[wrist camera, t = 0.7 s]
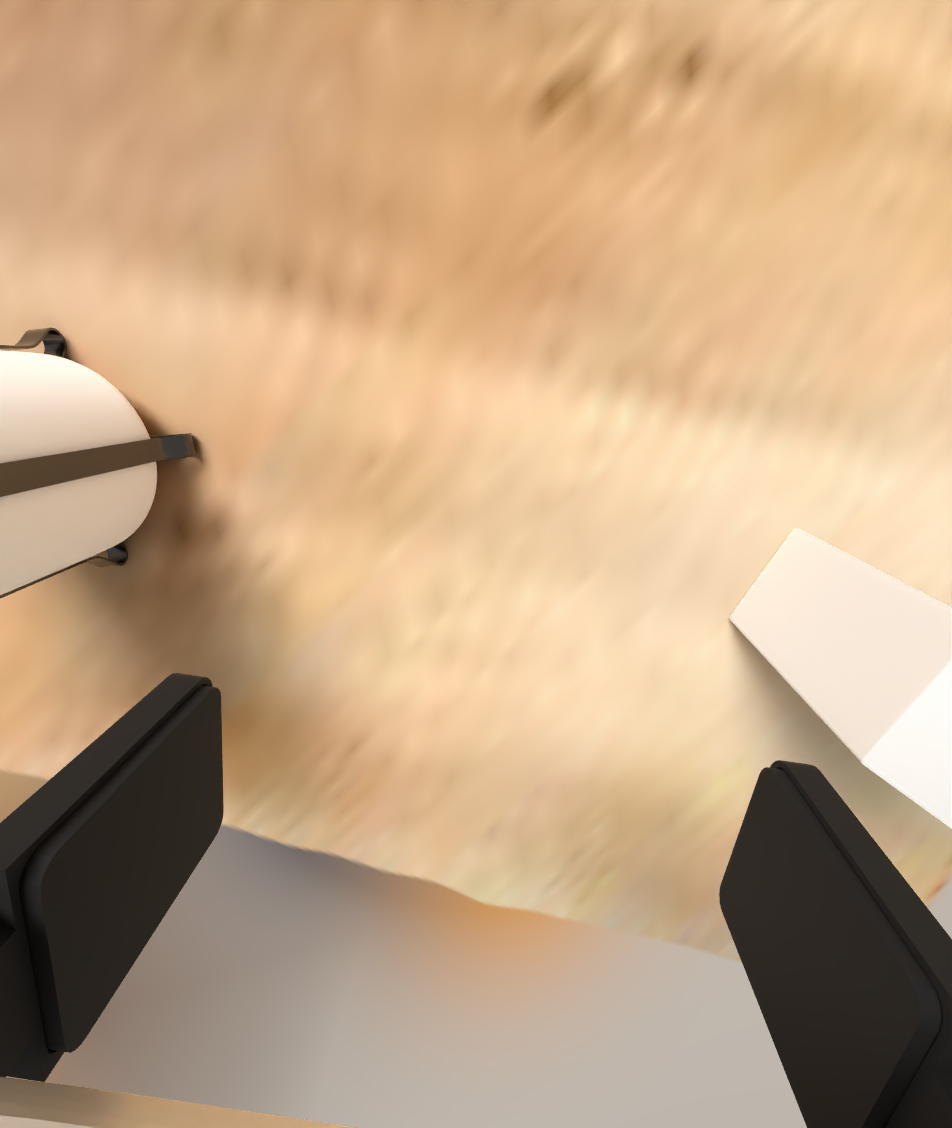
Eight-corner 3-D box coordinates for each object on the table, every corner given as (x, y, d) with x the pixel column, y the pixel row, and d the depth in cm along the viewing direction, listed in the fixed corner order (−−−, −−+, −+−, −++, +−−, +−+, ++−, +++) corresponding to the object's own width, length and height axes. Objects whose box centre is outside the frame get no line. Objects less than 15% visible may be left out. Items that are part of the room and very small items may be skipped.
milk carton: (726, 617, 38) (928, 837, 19) (793, 525, 35) (1089, 677, 17) (815, 663, 38) (1090, 917, 20) (886, 576, 36) (1264, 773, 18)
